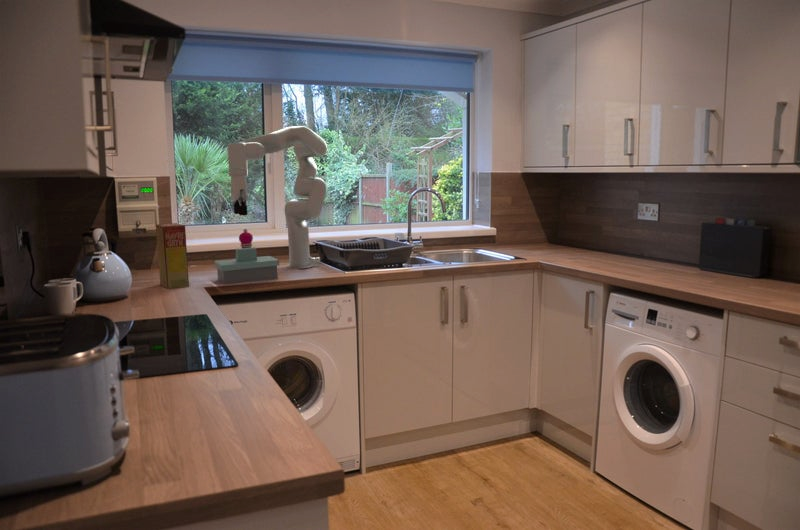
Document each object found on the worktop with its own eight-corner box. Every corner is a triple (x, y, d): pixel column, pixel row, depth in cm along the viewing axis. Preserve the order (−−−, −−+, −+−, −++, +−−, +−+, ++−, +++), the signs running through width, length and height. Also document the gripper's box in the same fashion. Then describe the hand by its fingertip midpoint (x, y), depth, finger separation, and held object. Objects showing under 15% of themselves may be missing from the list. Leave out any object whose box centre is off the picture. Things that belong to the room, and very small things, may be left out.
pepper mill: (250, 271, 292) (248, 227, 289) (259, 273, 287) (256, 228, 284) (236, 273, 287) (233, 229, 284) (245, 275, 282) (242, 230, 279)
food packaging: (190, 286, 260) (185, 225, 256) (166, 289, 255) (161, 226, 251) (182, 281, 271) (177, 222, 267) (159, 284, 266) (153, 224, 262)
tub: (269, 276, 278) (268, 258, 277) (277, 280, 268) (276, 261, 267) (218, 281, 268) (216, 263, 267) (224, 286, 258) (223, 267, 257)
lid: (270, 261, 278) (269, 244, 277) (279, 265, 267) (278, 247, 265) (214, 266, 268) (213, 249, 266) (222, 271, 256) (220, 253, 255)
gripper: (225, 173, 270) (227, 213, 273) (233, 173, 255) (235, 216, 257) (242, 172, 273) (245, 212, 276) (252, 172, 258) (254, 215, 261)
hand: (240, 214), depth 267 cm, fingers open, 9 cm apart
